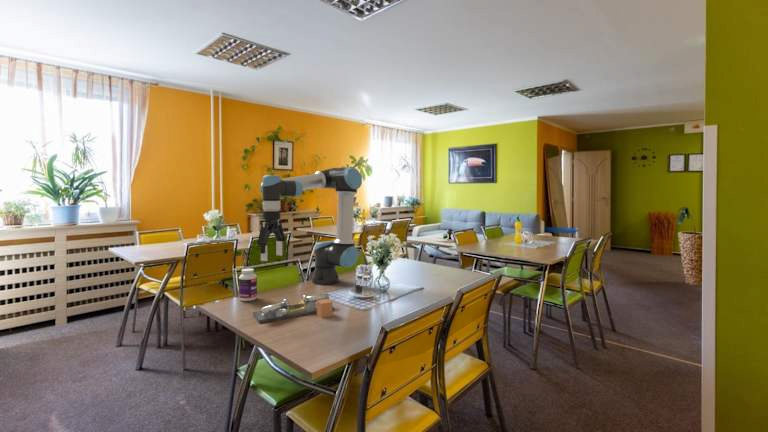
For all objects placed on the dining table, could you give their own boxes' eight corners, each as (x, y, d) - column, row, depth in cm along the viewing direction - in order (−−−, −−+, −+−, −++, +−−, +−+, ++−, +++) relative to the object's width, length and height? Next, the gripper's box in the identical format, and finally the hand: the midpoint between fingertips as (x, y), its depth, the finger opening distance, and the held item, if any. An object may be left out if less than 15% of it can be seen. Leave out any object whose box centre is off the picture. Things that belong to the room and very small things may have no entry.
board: (324, 303, 172) (324, 294, 171) (333, 309, 162) (333, 300, 162) (252, 315, 155) (252, 305, 155) (259, 323, 146) (258, 312, 145)
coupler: (327, 312, 159) (327, 298, 159) (332, 315, 155) (332, 301, 155) (316, 314, 157) (316, 300, 156) (321, 318, 152) (321, 303, 152)
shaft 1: (282, 310, 157) (282, 297, 156) (289, 313, 154) (289, 300, 153) (259, 318, 148) (258, 304, 147) (266, 320, 145) (265, 306, 144)
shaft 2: (305, 309, 159) (305, 296, 158) (301, 306, 163) (301, 293, 162) (329, 305, 165) (329, 292, 164) (325, 302, 169) (325, 290, 168)
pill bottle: (253, 302, 172) (252, 271, 171) (236, 301, 172) (235, 271, 171) (259, 296, 180) (259, 267, 179) (243, 296, 180) (242, 267, 179)
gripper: (277, 208, 176) (277, 252, 177) (248, 211, 151) (248, 262, 153) (292, 209, 174) (292, 253, 176) (264, 212, 150) (265, 263, 151)
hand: (272, 258), depth 164 cm, fingers open, 13 cm apart
